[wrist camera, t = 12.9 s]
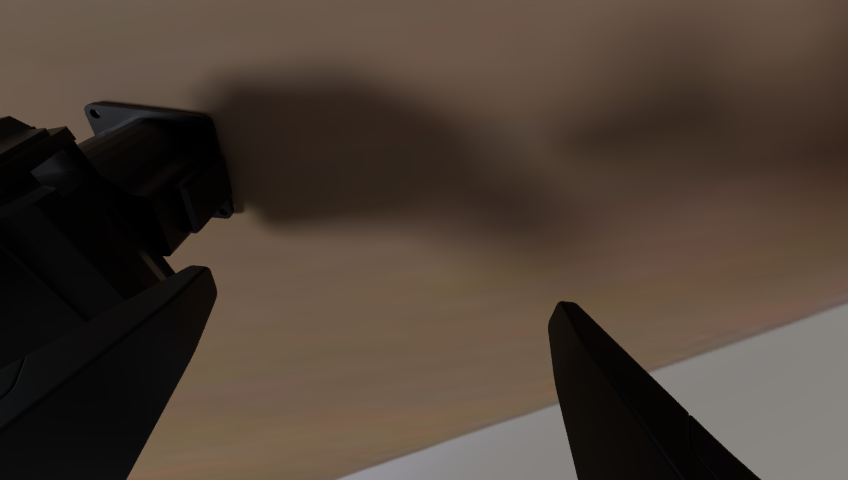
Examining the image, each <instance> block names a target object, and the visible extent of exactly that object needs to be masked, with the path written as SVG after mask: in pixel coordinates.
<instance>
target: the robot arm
mask: <svg viewBox="0 0 848 480" xmlns="http://www.w3.org/2000/svg"><path fill="white" fill-rule="evenodd" d="M84 110H85V114H86V116H87V118H88V120H89V123H90V125H91V127H92V130H93V132H94V134H95V136H93V137H91V138H89V139H87V140H85V141H84V142H82V143H80V144H78V145H77V144H76V143H75V141H74V140H76V138H75V137H74V136H73V134H72V133H71V132H70V130H69V129H68V128H67V126H64V127H58V128H53V129H48V130H47V129H46V128H40V129H36V128H35V126H33V127H31V126H29V125H27V124H25V123H23V122H21V121H19V120H17V119H15V118H13V117H11V116H7V117H2V118H0V480H126V479H127V477H128V476H129V474H130V472H131V470H132V468H133V466H134V464H135V463H136V461H137V459H138V457H139V455H140V453H141V451H142V449H143V448H144V446H145V444H146V442H147V440H148V438H149V436H150V435H151V433H152V431H153V429H154V427H155V425H156V423H157V422H158V420H159V418H160V416H161V414H162V412H163V410H164V409H165V407H166V405H167V403H168V401H169V399H170V397H171V396H172V394H173V392H174V390H175V388H176V386H177V384H178V382H179V381H180V379H181V377H182V375H183V373H184V371H185V369H186V368H187V366H188V364H189V362H190V360H191V358H192V356H193V354H194V352H195V350H196V348H197V345H198V343H199V340H200V338H201V335H202V333H203V330H204V328H205V325H206V323H207V320H208V318H209V315H210V313H211V310H212V308H213V305H214V303H215V300H216V297H217V288H216V285H215V282H214V279H213V276H212V273H211V270H210V269H209V268H208V267H205V266H195V265H193V266H189V267H187V268H185V269H183V270H181V271H179V272H178V273H175V272H174V271H173V269H172V268H171V267H170V265H169V264H168V263H167V261H166V260H165V259H164V258H163V256H170V255H171V254H172V253H173V252H174V251H175V250H176V249H177V248H178V247H179V246H180V245H181V243H182V242H183V241H184V240H185V239H186V238H187V237H188V236H189V235H190V233H198V232H199V231H200V230H201V229H202V228H203V227H204V226H205V225H206V223H207V222H208V221H209V220H210V219H211V218H212V217H214V218H224V219H227V218H230V217H231V216H232V214H233V213H234V206H233V202H232V198H231V195H232V189H231V185H230V180H229V176H228V172H227V168H226V163H225V159H224V157H223V155H222V154H221V152H220V148H219V144H218V140H217V135H216V131H215V127H214V123H213V121H212V120H211V119H210V117H208V116H206V115H204V114H197V113H188V112H179V111H170V110H162V109H153V108H144V107H135V106H126V105H117V104H108V103H99V102H93V103H91V104H88V105H86V106H85V109H84ZM95 110H96V111H97V112H99V114H100V115H98V114H97V113H96V111H95ZM200 121H201V122H203V123H204V124H205V126H206V128H205V127H203V126H201V124H200ZM223 209H225V210H226V211H227V212H225V211H224V210H223ZM548 333H549V341H550V349H551V357H552V365H553V373H554V380H555V386H556V391H557V395H558V399H559V403H560V407H561V411H562V416H563V420H564V424H565V428H566V432H567V436H568V441H569V445H570V449H571V453H572V457H573V461H574V465H575V469H576V474H577V478H578V480H761V479H760V478H758V477H757V476H756V475H755V474H754V473H753V472H752V471H751V470H749V469H748V468H747V467H746V466H745V465H744V464H743V463H742V462H740V461H739V460H738V459H737V458H736V457H734V456H733V454H731V453H730V452H729V451H728V450H727V449H726V448H725V447H724V446H723V445H722V444H721V443H719V441H718V440H716V439H715V438H714V437H713V436H712V435H711V434H710V433H709V432H708V431H707V430H706V429H705V428H704V427H703V426H702V425H701V424H700V423H699V422H698V421H697V420H696V419H695V418H693V416H691V415H689V413H688V412H687V411H686V410H685V409H684V408H683V407H682V406H681V405H680V404H679V403H678V402H677V401H676V400H675V399H674V398H673V397H672V396H671V395H670V394H669V393H668V392H667V391H666V390H665V389H663V387H662V386H661V385H660V384H658V383H657V381H655V380H654V379H653V378H652V377H651V376H650V375H649V374H648V373H647V372H646V371H645V370H644V369H643V368H642V367H641V366H640V365H639V364H638V363H637V362H636V361H635V360H634V359H633V358H632V357H631V356H630V355H629V354H628V353H627V352H626V351H625V350H624V349H623V348H622V347H621V346H620V345H619V344H618V343H617V342H615V341H614V340H613V339H612V338H611V337H610V336H609V335H608V334H607V333H606V332H605V331H604V330H603V329H602V328H601V327H600V326H599V325H598V324H597V323H596V322H595V321H594V320H593V319H592V318H591V317H590V316H589V315H588V314H587V313H586V312H585V311H584V310H583V309H582V308H581V307H580V306H579V305H577V304H576V303H574V302H566V301H560V302H559V303H558V304H557V305H556V307H555V310H554V312H553V314H552V316H551V318H550V320H549V324H548Z"/></svg>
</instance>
